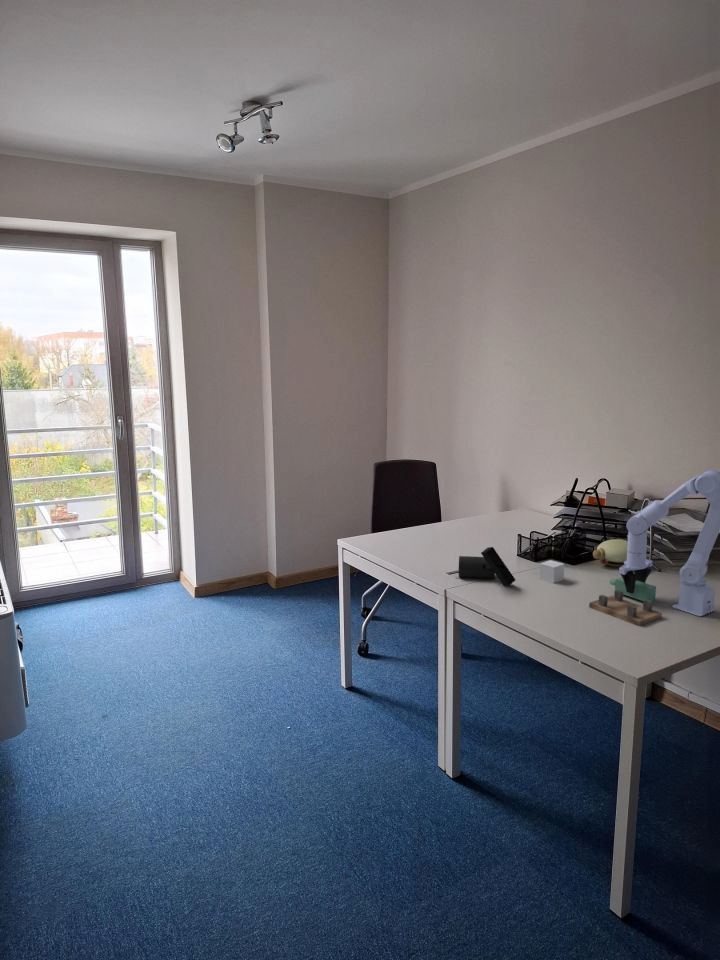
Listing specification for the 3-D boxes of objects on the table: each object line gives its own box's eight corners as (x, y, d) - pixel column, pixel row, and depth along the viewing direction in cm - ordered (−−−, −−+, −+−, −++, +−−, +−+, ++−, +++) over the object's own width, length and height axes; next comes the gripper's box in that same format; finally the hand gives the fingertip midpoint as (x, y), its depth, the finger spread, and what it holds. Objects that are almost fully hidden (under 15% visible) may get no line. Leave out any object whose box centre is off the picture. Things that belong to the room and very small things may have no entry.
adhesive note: (563, 579, 234) (564, 563, 233) (553, 583, 230) (554, 567, 229) (549, 575, 238) (550, 559, 237) (539, 579, 235) (539, 563, 234)
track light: (445, 564, 242) (468, 561, 223) (473, 542, 247) (498, 537, 228) (468, 598, 242) (493, 598, 223) (496, 575, 247) (522, 573, 228)
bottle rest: (661, 617, 199) (662, 603, 198) (639, 626, 193) (639, 611, 192) (611, 599, 214) (612, 586, 213) (589, 607, 208) (589, 593, 207)
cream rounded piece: (648, 567, 244) (607, 574, 239) (621, 555, 259) (581, 562, 254) (649, 543, 242) (607, 550, 238) (621, 532, 257) (581, 539, 253)
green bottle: (655, 599, 211) (656, 586, 210) (646, 602, 209) (647, 589, 208) (615, 586, 223) (616, 574, 223) (607, 589, 221) (607, 576, 220)
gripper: (639, 544, 219) (637, 583, 222) (611, 552, 212) (610, 592, 214) (658, 549, 213) (656, 588, 216) (630, 557, 206) (628, 598, 208)
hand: (634, 590), depth 214 cm, fingers closed on green bottle, 4 cm apart
